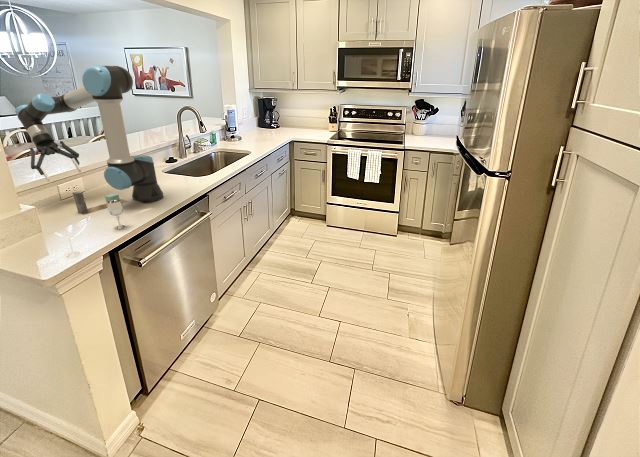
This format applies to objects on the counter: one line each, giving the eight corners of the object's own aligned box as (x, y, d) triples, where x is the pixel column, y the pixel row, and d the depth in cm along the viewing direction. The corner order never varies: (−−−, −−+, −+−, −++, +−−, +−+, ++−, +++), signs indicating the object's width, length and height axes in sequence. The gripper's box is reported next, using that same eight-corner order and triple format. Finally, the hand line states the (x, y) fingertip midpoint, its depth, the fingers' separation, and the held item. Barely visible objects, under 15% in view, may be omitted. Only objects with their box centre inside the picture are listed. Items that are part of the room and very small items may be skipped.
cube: (115, 201, 182) (113, 193, 180) (120, 203, 179) (118, 194, 177) (106, 204, 178) (104, 195, 176) (111, 205, 176) (109, 197, 174)
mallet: (122, 200, 185) (117, 180, 181) (129, 203, 182) (124, 182, 177) (77, 213, 169) (70, 191, 164) (84, 216, 165) (77, 194, 161)
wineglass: (113, 225, 156) (107, 200, 151) (128, 223, 158) (122, 198, 153) (111, 230, 151) (104, 204, 146) (126, 228, 153) (120, 202, 148)
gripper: (69, 134, 179) (91, 170, 179) (10, 147, 163) (34, 187, 163) (69, 126, 173) (92, 164, 174) (8, 139, 157) (33, 180, 158)
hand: (64, 175), depth 168 cm, fingers open, 13 cm apart
